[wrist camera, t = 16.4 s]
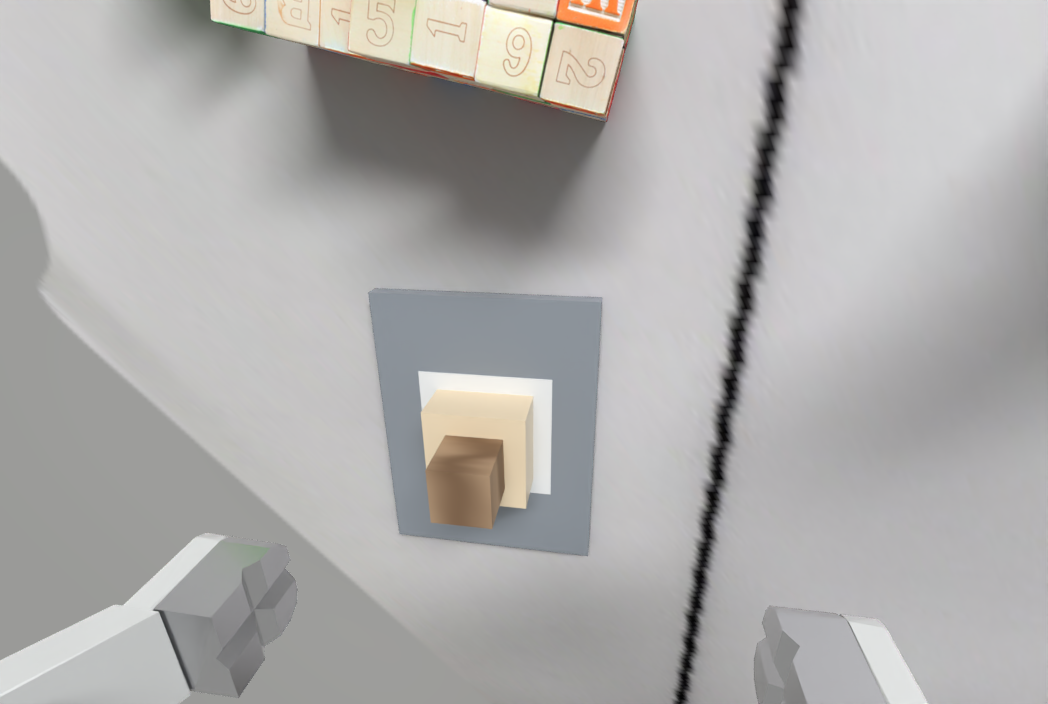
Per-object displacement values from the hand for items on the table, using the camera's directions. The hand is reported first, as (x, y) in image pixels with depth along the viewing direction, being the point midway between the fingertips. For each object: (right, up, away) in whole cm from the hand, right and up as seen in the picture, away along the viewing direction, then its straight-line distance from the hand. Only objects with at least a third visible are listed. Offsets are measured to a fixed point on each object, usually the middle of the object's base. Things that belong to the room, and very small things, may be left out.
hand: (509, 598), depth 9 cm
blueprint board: (-3, -2, +35) cm, 36 cm away
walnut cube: (-4, -4, +31) cm, 31 cm away
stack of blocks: (-4, +25, +25) cm, 35 cm away
